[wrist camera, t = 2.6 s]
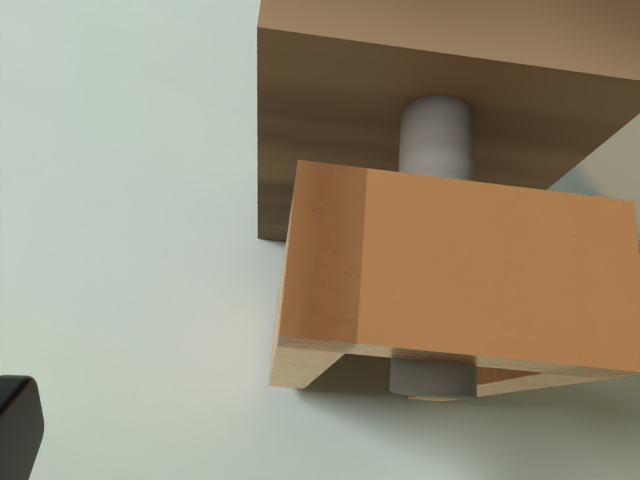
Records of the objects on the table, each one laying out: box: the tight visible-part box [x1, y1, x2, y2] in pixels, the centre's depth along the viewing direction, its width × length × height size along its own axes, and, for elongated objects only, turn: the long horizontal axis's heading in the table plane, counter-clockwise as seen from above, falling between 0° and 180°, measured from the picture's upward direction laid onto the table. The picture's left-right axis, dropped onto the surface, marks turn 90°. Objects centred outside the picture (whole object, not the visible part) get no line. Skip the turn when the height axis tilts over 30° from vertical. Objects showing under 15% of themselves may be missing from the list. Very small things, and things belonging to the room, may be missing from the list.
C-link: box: [268, 160, 640, 402], centre depth 14 cm, size 3×6×11 cm, turn 85°
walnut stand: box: [257, 0, 640, 399], centre depth 16 cm, size 9×8×12 cm
